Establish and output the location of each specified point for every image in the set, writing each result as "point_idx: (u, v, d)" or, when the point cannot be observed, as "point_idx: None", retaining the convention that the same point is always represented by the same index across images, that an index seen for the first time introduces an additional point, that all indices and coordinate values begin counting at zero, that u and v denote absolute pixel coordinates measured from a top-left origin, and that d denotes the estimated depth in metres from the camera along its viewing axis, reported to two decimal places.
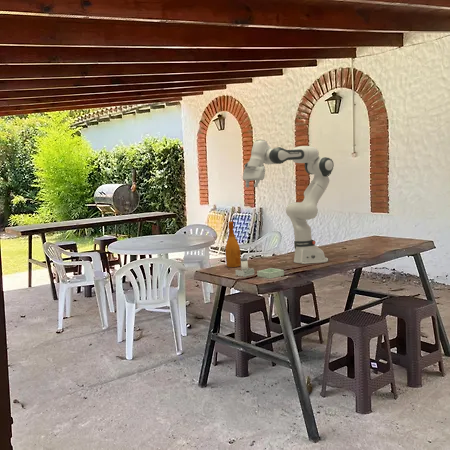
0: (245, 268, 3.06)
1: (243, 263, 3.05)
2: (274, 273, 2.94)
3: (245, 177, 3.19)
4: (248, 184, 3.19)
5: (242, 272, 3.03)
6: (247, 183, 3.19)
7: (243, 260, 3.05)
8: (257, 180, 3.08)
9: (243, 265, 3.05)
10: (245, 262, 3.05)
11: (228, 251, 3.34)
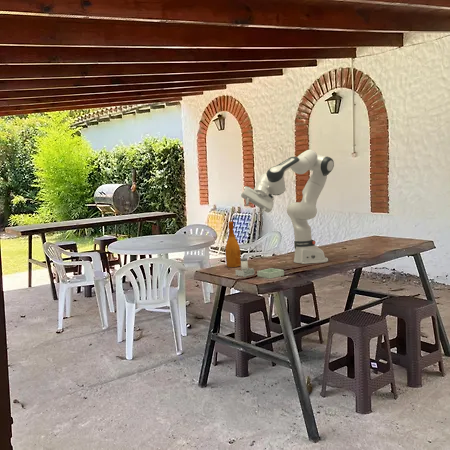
0: (245, 268, 3.06)
1: (243, 263, 3.05)
2: (274, 273, 2.94)
3: None
4: (262, 210, 3.02)
5: (242, 272, 3.03)
6: None
7: (243, 260, 3.05)
8: (246, 199, 3.02)
9: (243, 265, 3.05)
10: (245, 262, 3.05)
11: (228, 251, 3.34)
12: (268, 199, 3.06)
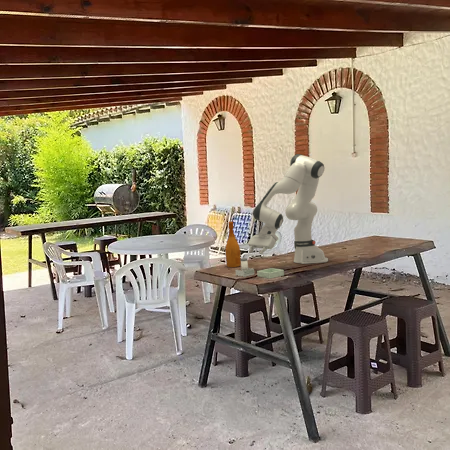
0: (245, 268, 3.06)
1: (243, 263, 3.05)
2: (274, 273, 2.94)
3: None
4: (261, 250, 3.07)
5: (242, 272, 3.03)
6: None
7: (243, 260, 3.05)
8: None
9: (243, 265, 3.05)
10: (245, 262, 3.05)
11: (228, 251, 3.34)
12: (267, 237, 3.09)
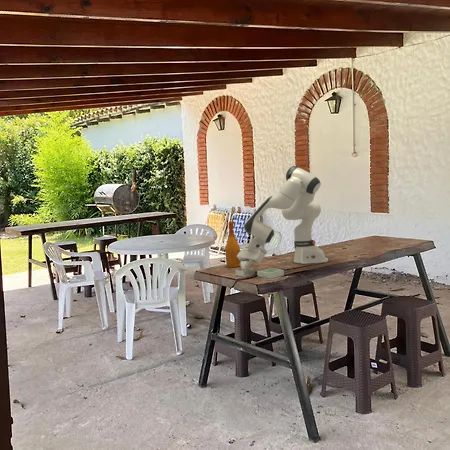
0: (245, 268, 3.06)
1: (243, 263, 3.05)
2: (274, 273, 2.94)
3: None
4: None
5: (242, 272, 3.03)
6: None
7: (243, 260, 3.05)
8: None
9: (243, 265, 3.05)
10: (245, 262, 3.05)
11: (228, 251, 3.34)
12: (256, 250, 3.05)
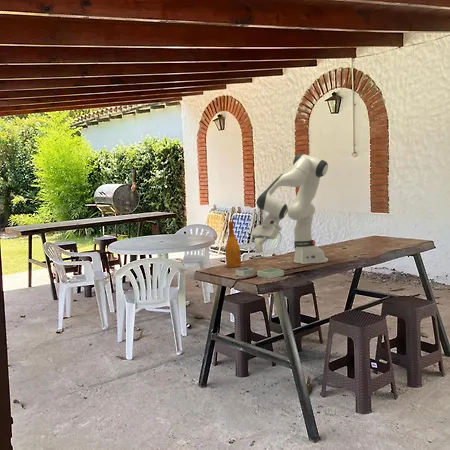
0: (259, 245, 2.99)
1: (257, 240, 2.99)
2: (274, 273, 2.94)
3: None
4: (262, 240, 2.99)
5: (242, 272, 3.03)
6: None
7: (257, 237, 2.99)
8: None
9: (257, 242, 2.99)
10: (259, 239, 2.99)
11: (228, 251, 3.34)
12: (270, 226, 2.99)
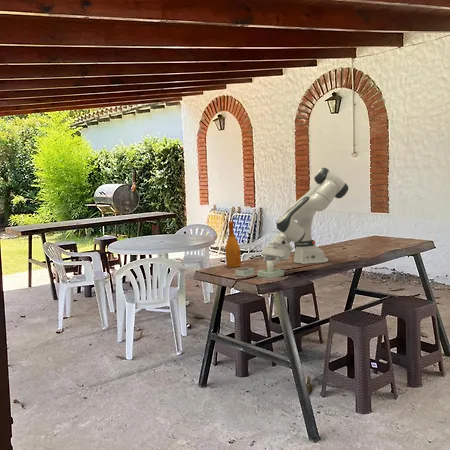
0: (271, 268, 2.97)
1: (269, 262, 2.97)
2: (274, 273, 2.94)
3: None
4: (275, 260, 2.95)
5: (242, 272, 3.03)
6: None
7: (269, 259, 2.97)
8: None
9: (269, 264, 2.97)
10: (271, 261, 2.97)
11: (228, 251, 3.34)
12: (282, 247, 2.97)
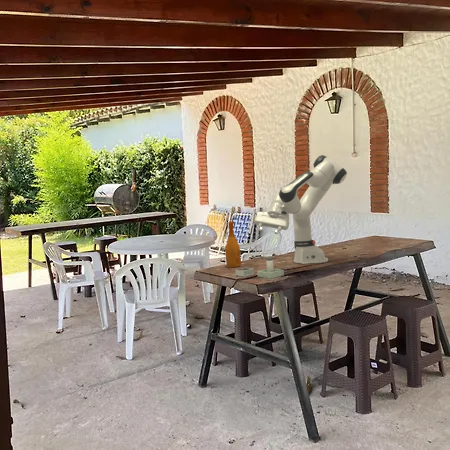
0: (271, 268, 2.97)
1: (269, 263, 2.97)
2: (274, 273, 2.94)
3: None
4: (277, 230, 2.94)
5: (242, 272, 3.03)
6: (277, 230, 2.95)
7: (269, 259, 2.97)
8: None
9: (269, 265, 2.97)
10: (271, 261, 2.97)
11: (228, 251, 3.34)
12: (282, 217, 2.98)
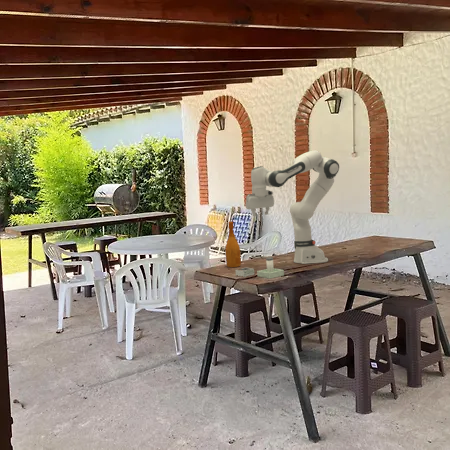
0: (271, 268, 2.97)
1: (269, 263, 2.97)
2: (274, 273, 2.94)
3: None
4: (267, 211, 3.19)
5: (242, 272, 3.03)
6: (266, 210, 3.20)
7: (269, 259, 2.97)
8: (251, 210, 3.13)
9: (269, 265, 2.97)
10: (271, 261, 2.97)
11: (228, 251, 3.34)
12: (268, 197, 3.17)
